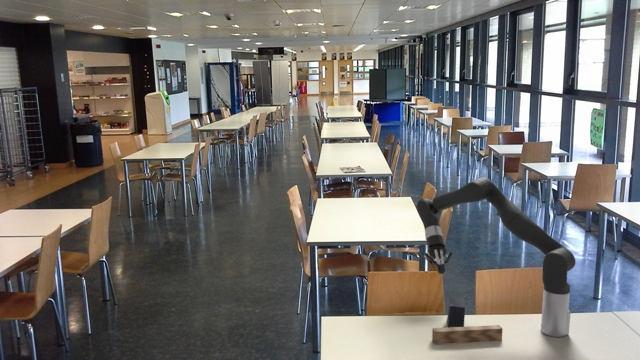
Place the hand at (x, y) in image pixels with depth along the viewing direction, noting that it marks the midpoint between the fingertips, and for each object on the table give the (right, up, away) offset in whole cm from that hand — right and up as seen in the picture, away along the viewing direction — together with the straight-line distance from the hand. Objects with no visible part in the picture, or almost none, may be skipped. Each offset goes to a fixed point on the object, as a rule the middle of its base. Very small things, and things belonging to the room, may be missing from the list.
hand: (441, 273), depth 236 cm
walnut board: (+3, -21, -29) cm, 36 cm away
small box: (+2, -18, -16) cm, 25 cm away
